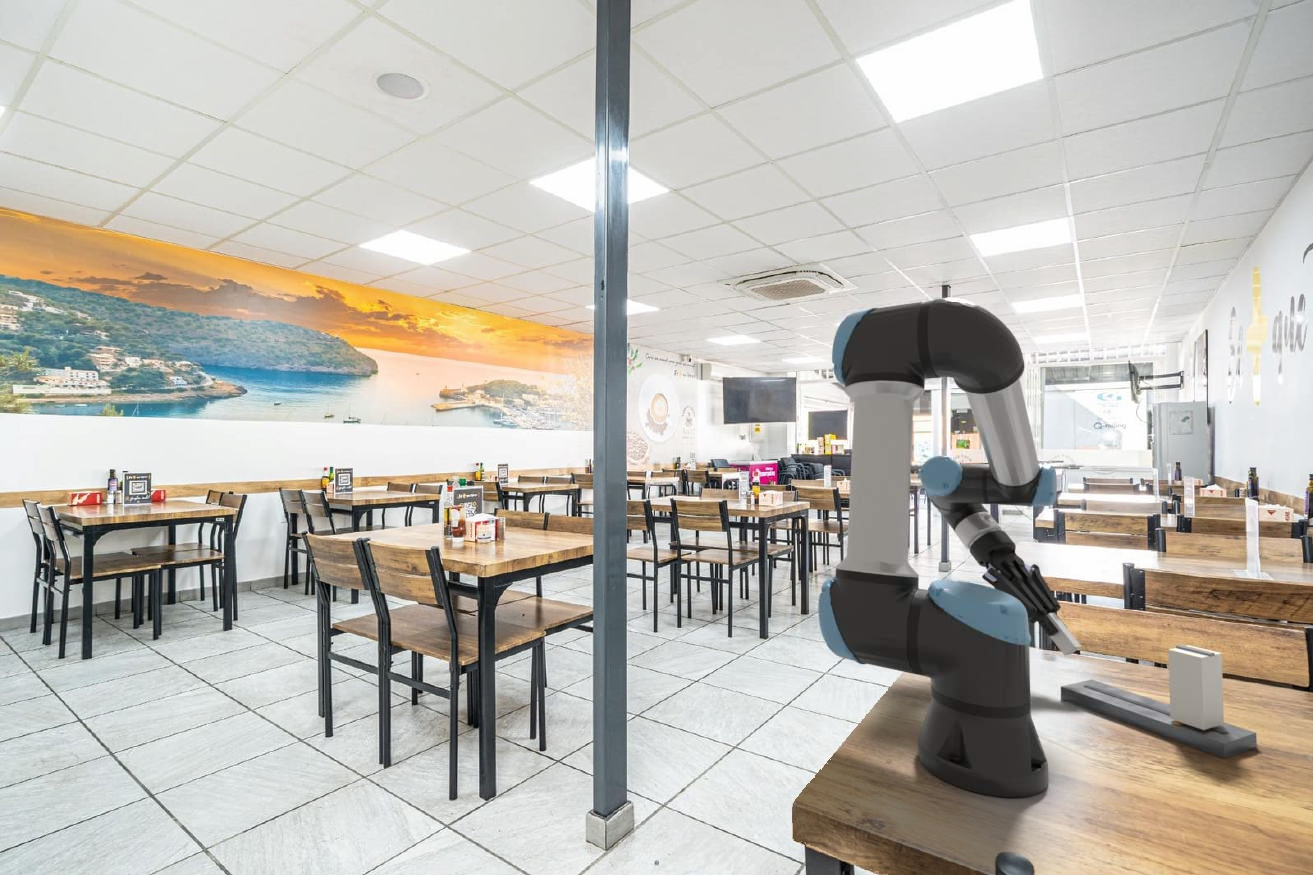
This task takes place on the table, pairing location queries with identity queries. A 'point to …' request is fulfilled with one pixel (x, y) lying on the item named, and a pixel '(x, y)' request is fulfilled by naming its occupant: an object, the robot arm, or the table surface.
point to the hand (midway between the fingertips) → (1073, 650)
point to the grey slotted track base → (1157, 718)
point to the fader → (1196, 686)
